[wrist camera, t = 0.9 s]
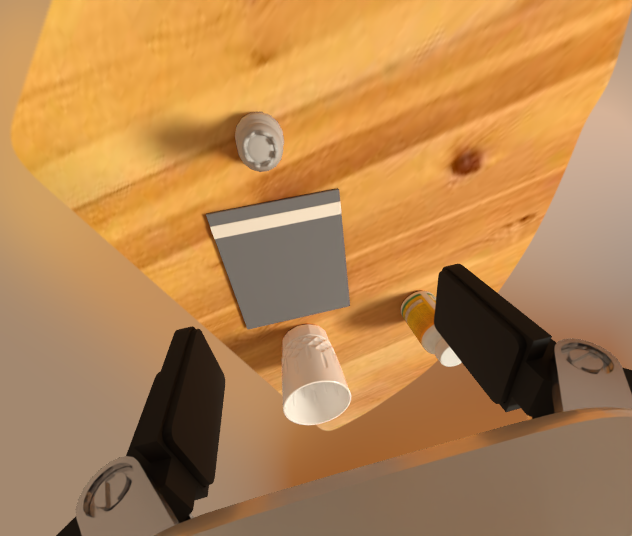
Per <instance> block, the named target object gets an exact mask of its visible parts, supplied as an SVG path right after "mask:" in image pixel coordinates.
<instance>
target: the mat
mask: <svg viewBox="0 0 632 536" xmlns="http://www.w3.org/2000/svg"><path fill="white" fill-rule="evenodd" d="M206 216H207V219H208V222H209V225H210V228H211V231H212V234H213V236H214V239H215V241H216V244H217V247H218V249H219V252H220V255H221V258H222V260H223V263H224V266H225V269H226V271H227V274H228V277H229V280H230V282H231V285H232V288H233V291H234V293H235V296H236V299H237V302H238V304H239V307H240V310H241V313H242V315H243V318H244V321H245V324H246V326H247V329H252V328H256V327H261V326H265V325H269V324H274V323H278V322H283V321H287V320H291V319H296V318H300V317H304V316H309V315H313V314H317V313H322V312H326V311H330V310H335V309H339V308H343V307H348V306H350V301H349V290H348V279H347V269H346V258H345V248H344V237H343V227H342V216H341V203H340V195H339V189H333V190H328V191H322V192H317V193H312V194H307V195H302V196H296V197H291V198H286V199H281V200H276V201H270V202H265V203H260V204H255V205H249V206H244V207H239V208H234V209H229V210H223V211H218V212H213V213H208V214H206Z"/></svg>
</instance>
